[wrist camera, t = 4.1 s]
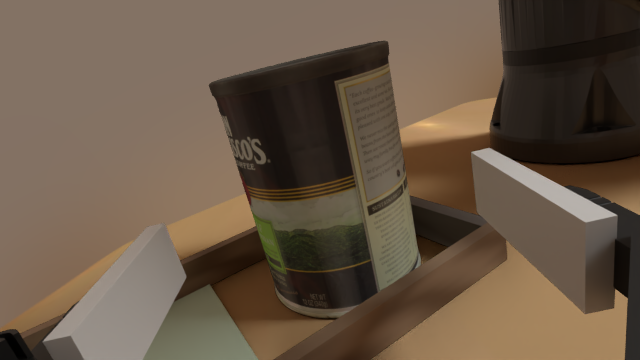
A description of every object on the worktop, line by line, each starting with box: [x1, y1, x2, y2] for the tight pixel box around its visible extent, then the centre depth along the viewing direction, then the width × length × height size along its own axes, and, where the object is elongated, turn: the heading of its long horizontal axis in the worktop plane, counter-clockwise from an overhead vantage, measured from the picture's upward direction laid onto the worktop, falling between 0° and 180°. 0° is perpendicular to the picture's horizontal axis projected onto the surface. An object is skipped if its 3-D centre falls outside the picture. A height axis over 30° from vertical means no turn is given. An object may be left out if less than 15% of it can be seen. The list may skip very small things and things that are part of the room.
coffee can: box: [209, 41, 421, 318], centre depth 24 cm, size 10×10×14 cm
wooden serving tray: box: [20, 195, 507, 360], centre depth 22 cm, size 28×15×2 cm, turn 122°
